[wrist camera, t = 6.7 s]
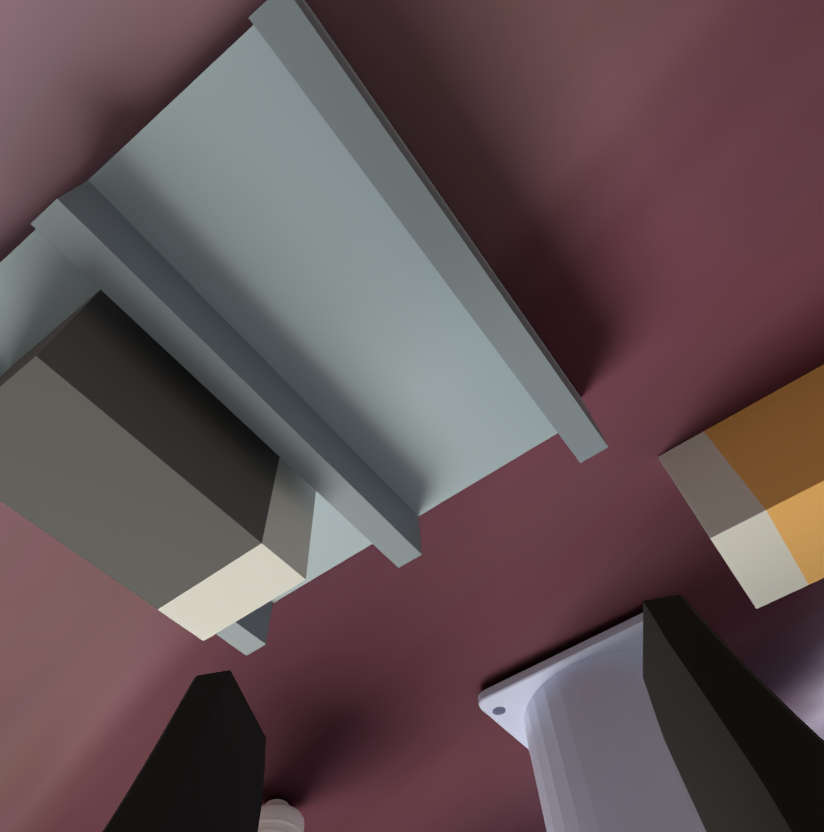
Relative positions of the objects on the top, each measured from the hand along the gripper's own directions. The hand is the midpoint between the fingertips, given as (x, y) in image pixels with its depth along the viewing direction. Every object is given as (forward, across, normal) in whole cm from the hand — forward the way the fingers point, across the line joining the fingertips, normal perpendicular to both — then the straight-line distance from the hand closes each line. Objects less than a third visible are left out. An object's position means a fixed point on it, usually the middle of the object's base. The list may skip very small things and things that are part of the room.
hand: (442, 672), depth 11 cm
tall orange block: (+8, -11, +3) cm, 14 cm away
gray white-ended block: (+8, +6, -2) cm, 10 cm away
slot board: (+8, +4, -2) cm, 9 cm away
